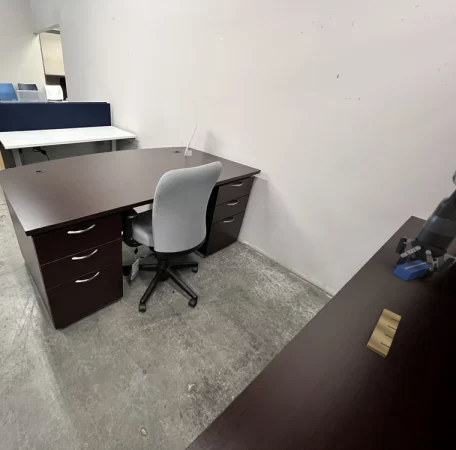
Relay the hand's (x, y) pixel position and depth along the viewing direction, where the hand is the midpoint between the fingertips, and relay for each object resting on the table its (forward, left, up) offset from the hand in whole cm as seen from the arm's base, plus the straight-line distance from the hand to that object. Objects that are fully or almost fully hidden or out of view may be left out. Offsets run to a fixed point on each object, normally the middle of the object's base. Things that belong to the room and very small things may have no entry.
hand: (411, 271), depth 83 cm
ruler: (0, +39, -1) cm, 39 cm away
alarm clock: (0, -14, -1) cm, 14 cm away
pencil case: (0, 0, -1) cm, 1 cm away
